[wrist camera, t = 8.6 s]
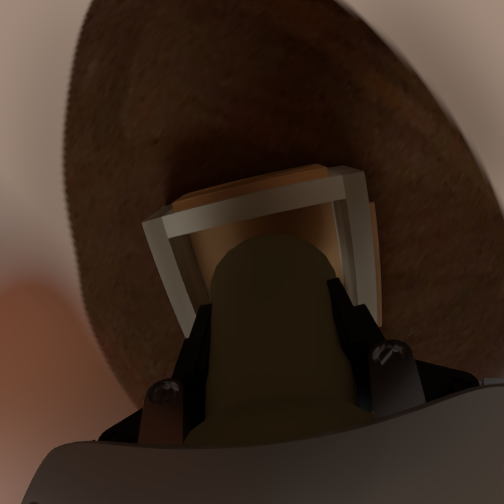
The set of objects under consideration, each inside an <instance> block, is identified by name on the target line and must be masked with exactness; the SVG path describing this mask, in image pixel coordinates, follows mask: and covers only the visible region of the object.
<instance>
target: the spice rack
mask: <svg viewBox="0 0 504 504" xmlns="http://www.w3.org/2000/svg"><path fill="white" fill-rule="evenodd" d="M142 225H143V228H144V231H145V234H146V237H147V240H148V243H149V246H150V249H151V252H152V254H153V257H154V260H155V263H156V265H157V268H158V271H159V274H160V276H161V279H162V281H163V284H164V287H165V289H166V292H167V294H168V297H169V299H170V302H171V304H172V307H173V309H174V312H175V314H176V316H177V319H178V321H179V323H180V326H181V328H182V330H183V333H184V335H185V337H186V338H189V335H190V332H191V329H192V327H193V324H194V321H195V318H196V315H197V312H198V309H199V306H200V305H205V304H209V291H210V282H211V280H212V277H213V274H214V271H215V268H216V266H217V265H218V263H219V262H220V261H221V260H222V258H223V257H224V256H225V255H226V253H227V252H228V251H229V250H231V249H232V248H234V247H235V246H237V245H239V244H240V243H242V242H243V241H245V240H247V239H251V238H254V237H258V236H262V235H266V234H280V235H291V236H294V237H297V238H299V239H302V240H305V241H308V242H310V243H311V244H312V245H314V246H315V247H316V248H317V249H319V250H320V251H321V252H322V253H324V254H325V255H326V257H327V258H328V260H329V262H330V264H331V265H332V267H333V269H334V270H335V273H336V278H337V277H339V279H340V281H341V283H342V285H343V287H344V288H345V290H346V292H347V294H348V296H349V298H350V300H351V302H352V304H353V306H357V305H361V304H365V305H366V306H367V308H368V310H369V311H370V313H371V315H372V317H373V318H374V320H375V322H376V324H377V325H378V327H381V326H382V296H381V271H380V255H379V242H378V231H377V221H376V212H375V204H374V202H373V201H371V200H370V199H368V193H367V186H366V179H365V173H364V171H362V170H358V169H355V168H351V167H348V166H344V165H339V166H334V167H328V168H327V167H325V166H322V165H319V164H317V163H316V164H310V165H305V166H300V167H295V168H290V169H286V170H281V171H276V172H272V173H267V174H263V175H258V176H254V177H250V178H245V179H241V180H237V181H233V182H229V183H225V184H221V185H217V186H213V187H209V188H205V189H202V190H198V191H194V192H191V193H187V194H184V195H183V196H181V197H180V198H179V199H177V200H176V201H174V202H173V203H172V204H170V205H167V206H164V207H163V208H161V209H160V210H159V211H157V212H156V213H154V214H153V215H151V216H150V217H149V218H147V219H146V220H144V221H143V222H142Z"/></svg>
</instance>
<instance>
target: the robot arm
mask: <svg viewBox="0 0 504 504" xmlns="http://www.w3.org/2000/svg"><path fill="white" fill-rule="evenodd" d="M327 285H328V288H329V291H330V293H331V302H332V314H333V318H334V321H335V324H336V327H337V331H338V334H339V337H340V341H341V344H342V347H343V351H344V353H345V354H346V356H347V357H348V359H349V360H350V362H351V364H352V367H353V371H354V374H355V378H356V384H357V391H358V398H359V405H360V408H361V409H363V410H365V411H368V412H370V413H372V414H373V416H374V418H375V419H374V420H370V421H367V422H363V423H359V424H355V425H351V426H347V427H343V428H339V429H334V430H329V431H325V432H321V433H317V434H313V435H308V436H304V437H299V438H294V439H289V440H284V441H278V442H269V443H259V444H248V445H182V444H183V443H184V441H185V439H186V438H187V436H188V434H189V433H190V431H191V430H192V429H194V428H195V427H196V426H198V425H199V424H201V423H202V422H203V421H205V394H206V380H207V372H208V360H209V349H210V338H211V308H212V303H210V304H205V305H200V306H199V309H198V312H197V315H196V318H195V321H194V324H193V327H192V329H191V332H190V335H189V338H186V339H185V340H184V343H183V346H182V349H181V351H180V354H179V357H178V360H177V363H176V366H175V369H174V372H173V375H172V378H167V379H162V380H159V381H157V382H155V383H154V384H153V385H151V386H150V387H149V388H148V390H147V391H146V394H145V397H144V403H143V408H141V409H140V410H138V411H137V412H135V413H133V414H132V415H130V416H129V417H127V418H125V419H124V420H122V421H121V422H119V423H117V424H116V425H114V426H112V427H110V428H109V429H107V430H106V431H105V432H103V433H102V435H101V436H100V437H99V440H98V441H95V440H92V441H79V442H72V443H67V444H64V445H61V446H58V447H56V448H54V449H53V450H51V451H50V452H49V453H48V454H47V456H46V457H45V458H44V460H43V461H42V463H41V464H40V466H39V468H38V469H37V471H36V473H35V475H34V477H33V479H32V481H31V483H30V485H29V487H28V489H27V491H26V494H25V496H24V498H23V501H22V503H21V504H504V378H484V379H483V381H478V380H477V379H476V377H474V376H473V375H472V374H470V373H467V372H464V371H459V370H455V369H451V368H447V367H443V366H439V365H435V364H431V363H427V362H423V361H419V360H415V359H414V356H413V353H412V350H411V348H410V346H408V345H407V344H406V343H404V342H402V341H400V340H385V338H384V336H383V334H382V333H381V331H380V329H379V327H378V325H377V324H376V322H375V320H374V318H373V317H372V315H371V313H370V311H369V310H368V308H367V306H366V305H365V304H361V305H357V306H353V304H352V302H351V300H350V298H349V296H348V294H347V292H346V290H345V288H344V287H343V285H342V283H341V281H340V279H339V277H337V278H333V279H328V280H327Z"/></svg>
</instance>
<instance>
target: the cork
mask: <svg viewBox="0 0 504 504" xmlns="http://www.w3.org/2000/svg"><path fill="white" fill-rule="evenodd" d="M333 278H336V273H335V270H334V269H333V267H332V265H331V264H330V262H329V260H328V258H327V257H326V255H325V254H324V253H322V252H321V251H320V250H319V249H317V248H316V247H315V246H314V245H312V244H311V243H310V242H308V241H305V240H302V239H299V238H297V237H294V236H291V235H280V234H266V235H262V236H258V237H254V238H251V239H247V240H245V241H243V242H242V243H240V244H239V245H237V246H235V247H234V248H232V249H231V250H229V251H228V252H227V253H226V255H225V256H224V257H223V258H222V260H221V261H220V262H219V263H218V265H217V266H216V268H215V271H214V274H213V277H212V280H211V282H210V291H209V304H210V303H212V308H211V338H210V349H209V360H208V372H207V380H206V394H205V421H203V422H202V423H201V424H199V425H198V426H196V427H195V428H194V429H192V430H191V431H190V433H189V434H188V436H187V438H186V439H185V441H184V443H183V444H182V445H248V444H259V443H269V442H278V441H284V440H289V439H294V438H299V437H304V436H308V435H313V434H317V433H321V432H325V431H329V430H334V429H339V428H343V427H347V426H351V425H355V424H359V423H363V422H367V421H370V420H374V419H375V418H374V416H373V414H372V413H370V412H368V411H365V410H363V409H361V408H360V405H359V398H358V391H357V384H356V378H355V374H354V371H353V367H352V364H351V362H350V360H349V359H348V357H347V356H346V354H345V353H344V351H343V347H342V344H341V341H340V337H339V334H338V331H337V327H336V324H335V321H334V318H333V314H332V302H331V293H330V291H329V288H328V285H327V280H328V279H333Z"/></svg>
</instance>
